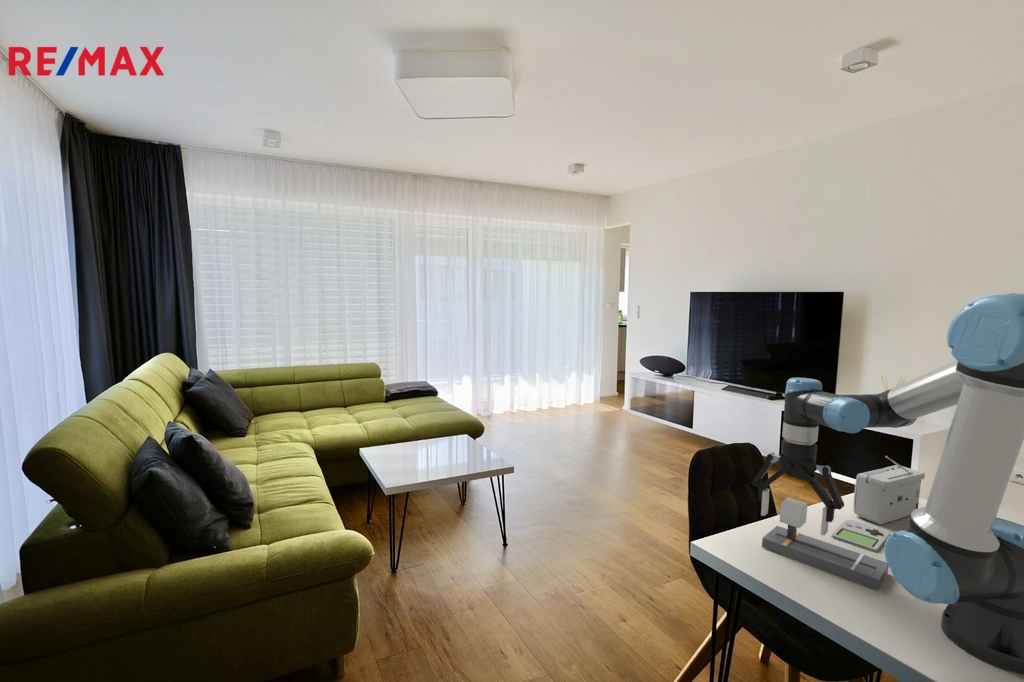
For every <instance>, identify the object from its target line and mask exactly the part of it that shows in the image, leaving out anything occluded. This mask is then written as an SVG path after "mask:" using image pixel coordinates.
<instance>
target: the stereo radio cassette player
mask: <svg viewBox="0 0 1024 682" xmlns="http://www.w3.org/2000/svg"><path fill="white" fill-rule="evenodd" d="M885 458H886V459H888V460H890V462H892V463H893V464H895V465H891V466H887V467H883V468H878V469H873V470H870V471H865V472H861V473H857V475H856V477H855V484H854V491H853V492H854V493H853V508H852V509H853V510H852V511H853V513H854V514H855V515H857V517H859V518H860V519H865V520H866V521H870V522H871V523H875V524H877V525H879V526H881V525H884V524H887V523H889V522H890V523H891V522H894V521H897V520H900V519H904V518H906V517H910V516H911V513H912V512H913V510H915V509H917V508H919V504H920V503H919V502H920V495H921V483H922V480H924V479H925V477H926V474H925V472H923V471H921V470H917V469H913V468H911V467H910V468H909V467H906V466H903V465H901V464H899V463H897V462H896V461H895V460H893V459H891V458H889V457H888V455H885Z"/></svg>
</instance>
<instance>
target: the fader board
mask: <svg viewBox="0 0 1024 682" xmlns="http://www.w3.org/2000/svg"><path fill="white" fill-rule="evenodd" d="M787 530H788V528H785V527H781V526H779V525H776V526H775V527H774V528H772V529H771V530H770V531H768V533H766V534H765V535H764V536H763V537H762V538H761V539H762V540H761V548H763V547H764V549H765V548H767V549H766V550H768V549H769V551H771V550H772V551H771V552H773V551H774V552H773V553H776V552H777V554H779V555H781V554H782V556H784V555H785V556H784V557H786V558H790V559H793V560H794V561H797V560H798V561H797V562H800V563H804V564H805V563H806V565H807V566H808V565H809V566H811V567H814V568H817V569H820V570H822V571H824V572H827V573H830V574H833V575H835V576H838V577H840V578H842V579H846V580H849V581H850V582H853V583H856V584H860V585H862V586H863V587H867V588H869V589H873V590H875V591H880V588H881V587H882V585H883V583H884V581H885V579H886V578H887V576H888V573H889V568H890V567H889V566H888V564H887V561H883V560H880V559H878V558H874V557H871V556H868V555H865V554H863V553H858V552H856V551H853V550H850V549H847V548H845V547H841V546H839V545H835V544H833V543H830V542H826V541H824V540H821V539H818V538H814V537H812V536H809V535H806V534H803V533H800V532H799V531H797V532H796V539H795V540H792V539H789V538H787ZM880 586H881V587H880Z"/></svg>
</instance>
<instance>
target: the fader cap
mask: <svg viewBox="0 0 1024 682" xmlns="http://www.w3.org/2000/svg"><path fill="white" fill-rule="evenodd" d="M779 513H780V514H779V522H780V523H782V524H785V525H787V529H788V530H787V538H789V539H792V540H795V539H796V532H798V531H797V530H798V529H801V527H802V526H803V525H804V524H806V522H807V514H808V502H805V501H803V500H799V499H796V498H792V497H789V496H788V497H786V498H784V500H782V501H781V502H780V511H779Z"/></svg>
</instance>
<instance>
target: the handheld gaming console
mask: <svg viewBox="0 0 1024 682" xmlns="http://www.w3.org/2000/svg"><path fill="white" fill-rule="evenodd" d="M890 533H891V532H890V531H889V530H887V529H882V528H880V527H878V526H877V527H876V526H874V525H870V524H866V523H863V522H859V521H857V520H852V519H846V520H844V521H843V522H842V523H841V524H840V525H839V526H838V527H836V528H835V530H834V531H833V532H832V533H831V538H832V539H833V540H837V541H839V542H842V543H846V544H849V545H852V546H855V547H858V548H860V549H864V550H866V551H870V552H873V553H877V552H878V551H879V550H880V548H882V546H883V544H885V542H886V540H887V538H888V537H889V536H890V535H891V534H890Z"/></svg>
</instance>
